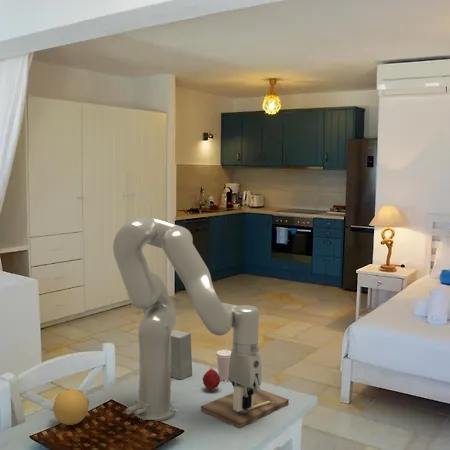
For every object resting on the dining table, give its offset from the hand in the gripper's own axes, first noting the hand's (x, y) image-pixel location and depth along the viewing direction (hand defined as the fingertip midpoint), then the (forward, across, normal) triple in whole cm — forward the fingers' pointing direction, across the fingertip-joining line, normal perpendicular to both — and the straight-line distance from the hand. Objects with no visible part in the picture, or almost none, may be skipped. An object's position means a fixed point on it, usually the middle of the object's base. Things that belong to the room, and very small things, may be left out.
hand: (243, 405), depth 166 cm
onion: (+4, +22, -6) cm, 23 cm away
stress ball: (+4, +28, +42) cm, 51 cm away
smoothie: (+4, +27, -17) cm, 32 cm away
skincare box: (+4, +40, -6) cm, 40 cm away
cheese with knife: (+2, 0, -4) cm, 4 cm away
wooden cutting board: (+4, +4, -6) cm, 8 cm away
